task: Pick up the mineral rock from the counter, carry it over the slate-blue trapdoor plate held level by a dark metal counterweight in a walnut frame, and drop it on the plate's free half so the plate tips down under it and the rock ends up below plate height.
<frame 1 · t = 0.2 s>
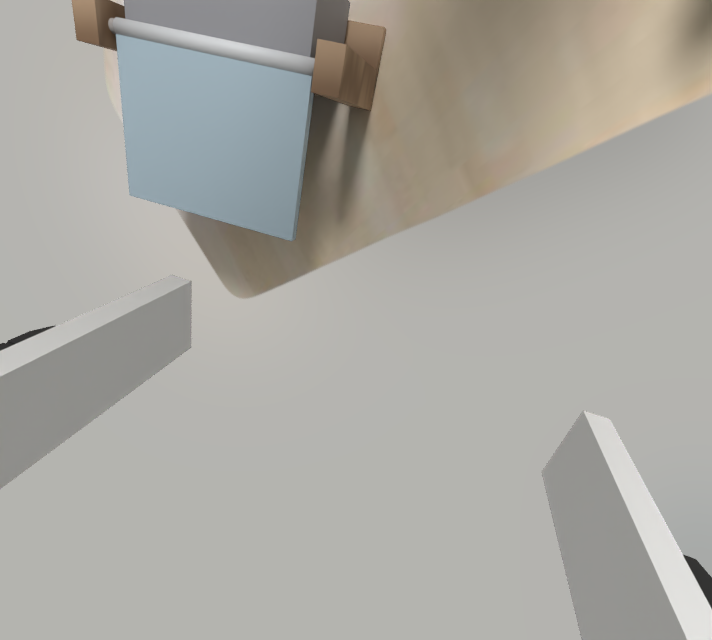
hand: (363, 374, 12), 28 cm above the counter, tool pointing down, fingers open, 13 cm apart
trapdoor: (235, 105, 31), point 5 cm above the counter, hinge at 0.0°
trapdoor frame: (267, 68, 34), on the counter
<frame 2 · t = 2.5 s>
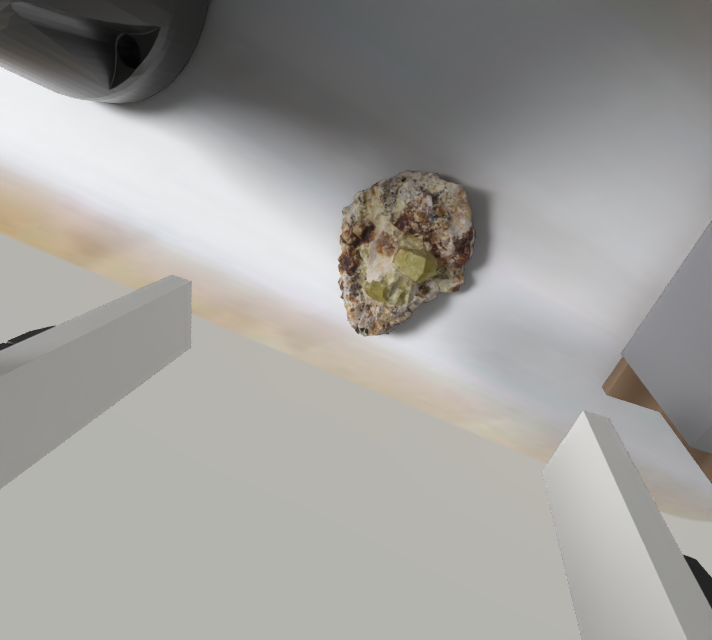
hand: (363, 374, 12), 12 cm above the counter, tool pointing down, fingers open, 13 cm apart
mineral rock: (398, 254, 23), on the counter
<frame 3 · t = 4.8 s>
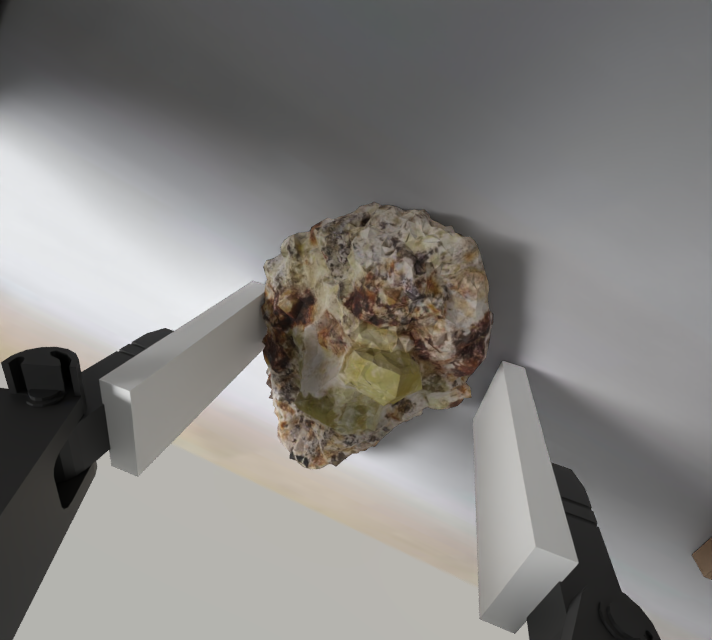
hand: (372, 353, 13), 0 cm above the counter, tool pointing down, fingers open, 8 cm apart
mineral rock: (362, 335, 14), on the counter, touching gripper
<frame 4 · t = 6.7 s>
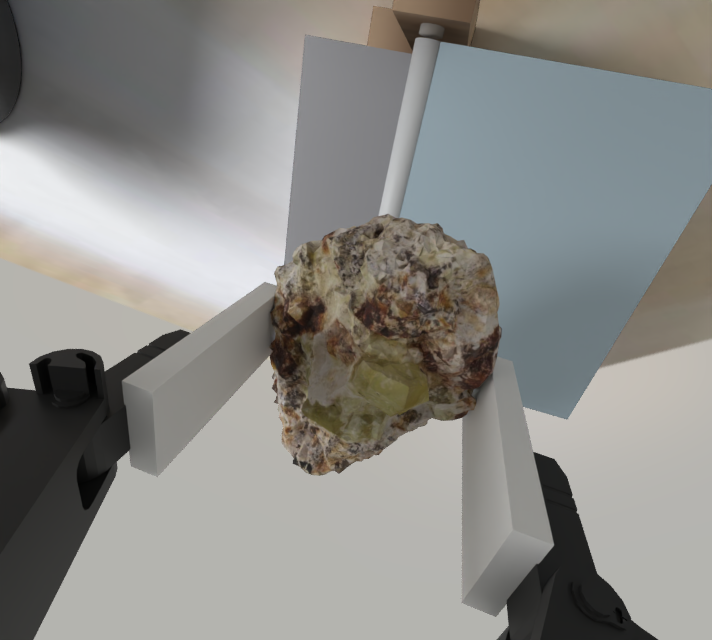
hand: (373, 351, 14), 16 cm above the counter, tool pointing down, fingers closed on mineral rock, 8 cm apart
trapdoor: (454, 231, 22), point 5 cm above the counter, hinge at 0.0°
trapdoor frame: (406, 203, 27), on the counter
mineral rock: (370, 343, 14), point 16 cm above the counter, touching gripper
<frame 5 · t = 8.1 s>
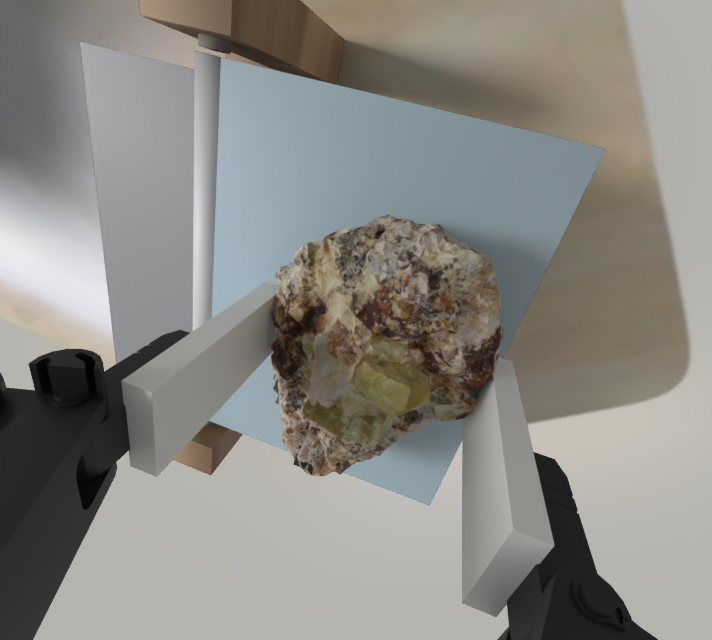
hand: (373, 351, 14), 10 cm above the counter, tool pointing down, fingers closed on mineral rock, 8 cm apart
trapdoor: (310, 276, 18), point 5 cm above the counter, hinge at 0.0°
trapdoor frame: (289, 234, 23), on the counter
mineral rock: (371, 344, 14), point 10 cm above the counter, touching gripper
when the fingers open (10 cm above the counter, at t = 8.1 s): mineral rock drops 7 cm, resting on trapdoor.
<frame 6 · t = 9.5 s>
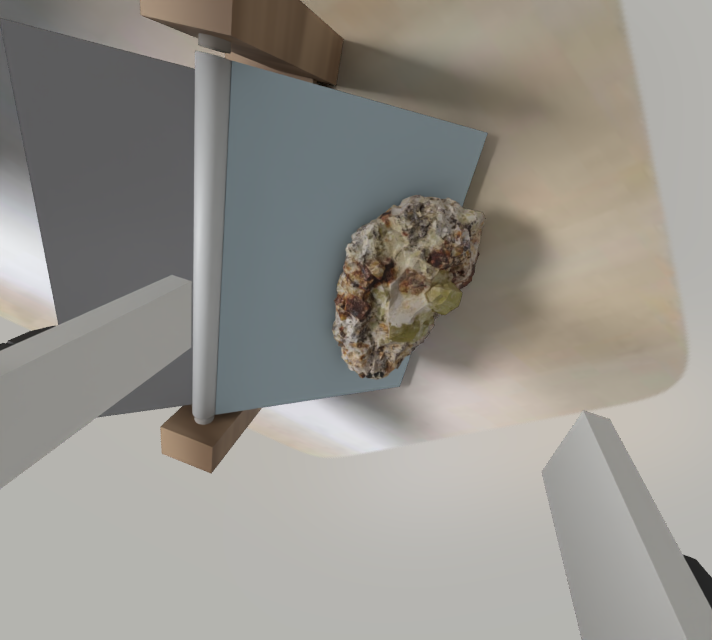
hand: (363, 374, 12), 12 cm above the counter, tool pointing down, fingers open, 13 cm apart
trapdoor: (269, 251, 20), point 4 cm above the counter, hinge at -41.0°, touching mineral rock
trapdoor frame: (289, 234, 24), on the counter
mineral rock: (389, 281, 20), point 3 cm above the counter, touching trapdoor
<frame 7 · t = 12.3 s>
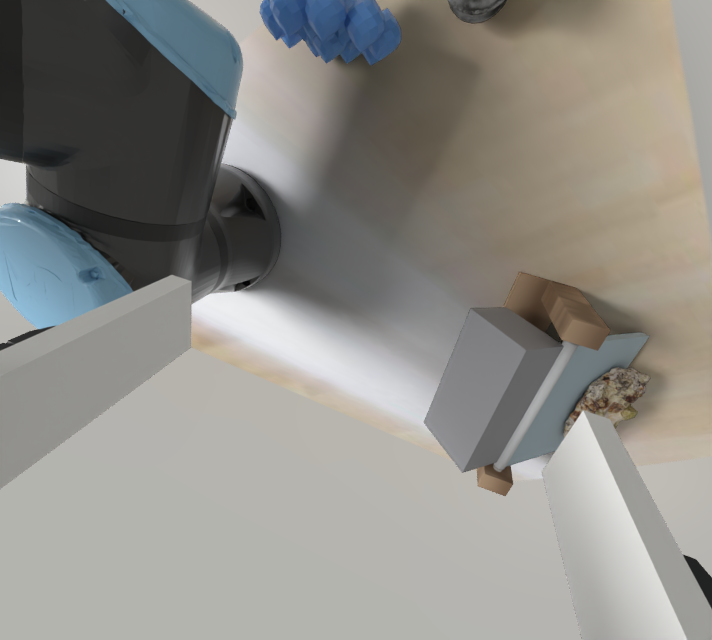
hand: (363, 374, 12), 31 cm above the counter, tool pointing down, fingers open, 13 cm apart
trapdoor: (529, 384, 40), point 4 cm above the counter, hinge at -40.4°, touching mineral rock
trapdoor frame: (520, 364, 43), on the counter
mineral rock: (590, 399, 40), point 2 cm above the counter, touching trapdoor
grapes: (353, 33, 34), on the counter
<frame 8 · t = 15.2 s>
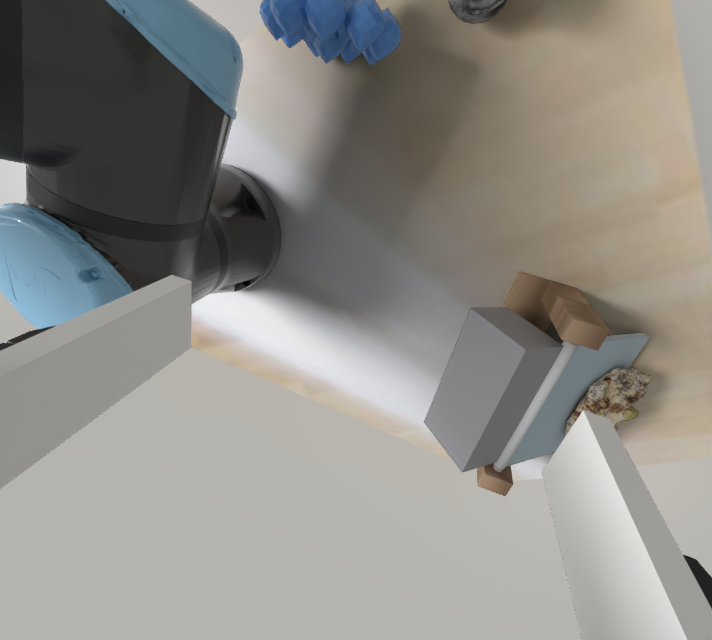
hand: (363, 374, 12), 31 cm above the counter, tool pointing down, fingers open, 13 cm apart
trapdoor: (530, 384, 40), point 4 cm above the counter, hinge at -39.9°, touching mineral rock
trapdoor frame: (520, 364, 43), on the counter
mineral rock: (591, 399, 40), point 2 cm above the counter, touching trapdoor
grapes: (353, 33, 34), on the counter
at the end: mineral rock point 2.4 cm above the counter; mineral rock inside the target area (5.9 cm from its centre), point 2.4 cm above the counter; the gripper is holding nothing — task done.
